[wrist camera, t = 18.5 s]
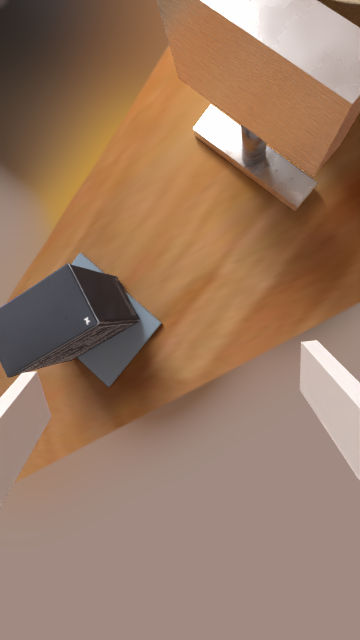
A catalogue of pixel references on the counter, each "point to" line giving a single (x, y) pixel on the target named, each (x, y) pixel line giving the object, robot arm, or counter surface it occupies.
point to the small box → (62, 318)
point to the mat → (117, 339)
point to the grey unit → (269, 83)
